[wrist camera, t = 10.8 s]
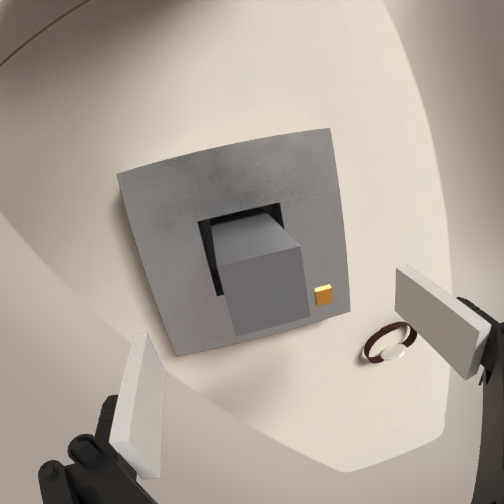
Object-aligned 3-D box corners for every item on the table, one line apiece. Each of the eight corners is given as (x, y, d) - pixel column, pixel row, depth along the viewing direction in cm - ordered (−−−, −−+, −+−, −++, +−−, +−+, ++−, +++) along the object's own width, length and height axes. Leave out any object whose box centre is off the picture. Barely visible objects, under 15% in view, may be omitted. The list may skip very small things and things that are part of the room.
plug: (210, 220, 29) (217, 266, 18) (262, 207, 30) (300, 246, 18) (222, 268, 31) (236, 336, 20) (271, 256, 31) (310, 316, 20)
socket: (127, 170, 27) (115, 174, 23) (313, 129, 28) (331, 127, 24) (178, 334, 33) (177, 358, 29) (335, 294, 34) (351, 312, 30)
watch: (363, 361, 39) (375, 377, 36) (358, 337, 37) (371, 352, 34) (409, 335, 39) (423, 349, 36) (407, 310, 38) (422, 324, 34)
